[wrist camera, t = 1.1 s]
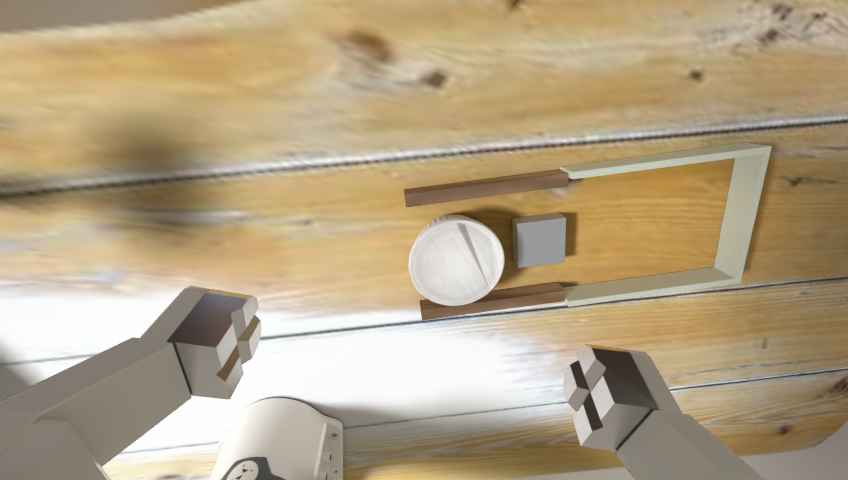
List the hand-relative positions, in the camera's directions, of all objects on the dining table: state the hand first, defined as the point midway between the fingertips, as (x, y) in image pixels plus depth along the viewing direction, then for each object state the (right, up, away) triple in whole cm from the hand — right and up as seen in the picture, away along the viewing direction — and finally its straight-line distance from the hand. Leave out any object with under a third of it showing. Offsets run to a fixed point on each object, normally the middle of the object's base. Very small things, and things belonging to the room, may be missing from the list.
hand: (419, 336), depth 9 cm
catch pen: (+28, +5, +38) cm, 48 cm away
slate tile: (+15, +3, +38) cm, 41 cm away
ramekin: (+4, +1, +38) cm, 38 cm away
